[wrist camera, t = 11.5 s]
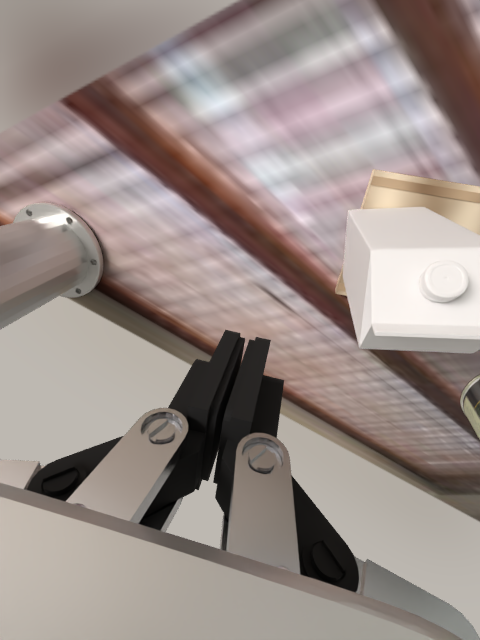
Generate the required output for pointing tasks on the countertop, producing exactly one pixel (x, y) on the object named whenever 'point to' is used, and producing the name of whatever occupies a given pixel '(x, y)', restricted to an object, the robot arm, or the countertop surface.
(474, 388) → the coffee can
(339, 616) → the robot arm
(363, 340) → the milk carton
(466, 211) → the beech board
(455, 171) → the countertop surface
